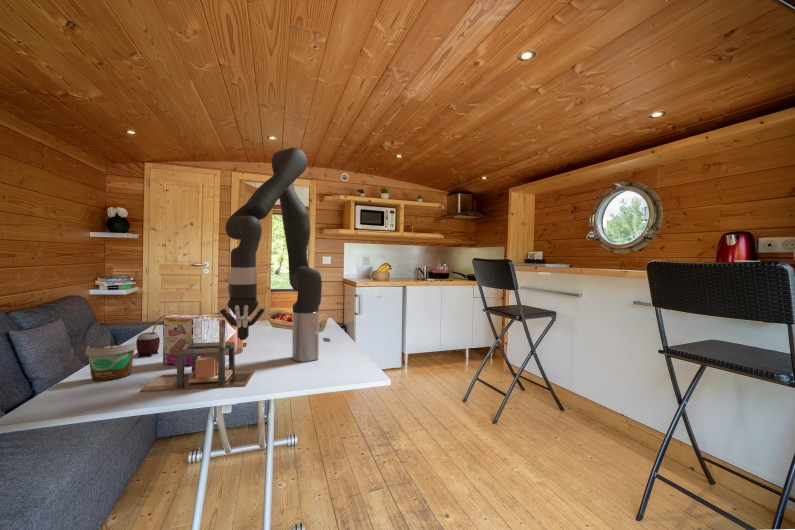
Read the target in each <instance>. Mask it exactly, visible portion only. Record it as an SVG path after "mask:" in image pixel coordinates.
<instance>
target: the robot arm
mask: <svg viewBox="0 0 795 530" xmlns="http://www.w3.org/2000/svg"><path fill="white" fill-rule="evenodd" d="M307 168H308V158H307V156H306V153H305V152H304V151H303V150H302V149H301V148H299V147H289V148H285V149H282V150H277V151H276V152H274V153H273V155H272V157H271V169H272V172H273V175H272V176H271V177H269V178H268V179H267V180H266V181H265V182H263V183H262V184H261V185H260V186H259V187H257V189H256V190H255V191H254V192H253V193H252V194H251V196H250V198H249V199H248V200H247V202H246V203H245V204H244V205H242V206H240V208H238V209H237V210H236V211H235V212H234V213H233V214H231V215H230V216H229V218H228V219H227V221H226V223H225V233H226V235H227V236H228V238H231V239H232V240H237V241H238V240H239V245H238V246H236V247H234V248H232V249H231V251H230V271H229V279H228V280H229V281H228V282H229V295H228V296H229V298H228V299H229V300H228V302H227V306H225V307H224V308H222V309H220V311H219V313H220V315H222V317H223V318H224V320H225V321H227V322H228V323H229V325H230V326H232V327H233V326H234V327H236V328H237V338H238V339H239V341H245V340H247V338H249V336H250V335H249V334H250V332H249V330H250V326H253V325H255V324H256V322H257V321H258V320H259V319H260V317H261V316H262V315H264V313H265V312H266V308H265V307H263V306H261V305H259V302H258V298H257V293H258V292H257V291H258V290H257V289H258V286H257V285H258V284H257V283H258V282H257V281H258V280H257V279H258V273H257V252H258V249H259V246H260V241H261V236H262V231H263V230H262V224H261V222H260V221H261V220H263V219H266V218H267V216H268V215H269V213H270V212H271V211H272V209H273V208H274V206H275V205H276V203H277V202H278V200H279V204H280V205H279V206H280V210H281V220H282V225H283V233H284V237H285V245H286V251H287V257H288V259H287V260H288V278H289V279H288V280H289V284H290V287H291V288H292V289H293V290H294V291H295V292H297V295H296V296H297V299H296V302H295V303H293V304H292V340H291V341H292V348H291V349H292V360H293V361H295V362H312V361H316V360H319V353H320V352H319V351H320V350H319V349H320V348H319V347H320V346H319V342H320V341H319V337H320V336H319V335H320V334H319V333H320V331H319V323H320V322H319V319H320V318H319V317H320V315H319V314H320V313H319V310H320V309H319V308H320V305H321V301H322V290H323V289H322V286H323V283H322V276H321V274H320V271H318V270H317V269H316V268H312V267H310V266H309V260H308V247H309V244H310V243H309V242H310V238H311V237H310V236H311V224H310V218H309V217H310V216H309V212H308V209H307V208H306V206H305V205H304V203H303V202H302V200H301V199H300V197H299V195H298V194H297V192H296V189H295V186H294V184H295V183H294V182H295V181H296V180H297V179H298V178H299V177H300V176H302V174H303V173H304V172H305V171H306V170H307ZM231 312H232V313H233V314H234V315H235V317H234V316H233V315H232V313H231ZM254 312H255V313H256V314H255V315H254V316H253V317H252V319H251V315H252V314H253V313H254ZM250 319H251V320H250Z"/></svg>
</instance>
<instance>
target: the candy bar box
mask: <svg viewBox="0 0 795 530" xmlns="http://www.w3.org/2000/svg"><path fill="white" fill-rule="evenodd" d="M202 325H203V316H202V315H184V314H171V315H165V316H164V317H162V364H163V365H166V366H167V365H169V366H177V353H179V352H180V351H182V350H183V349H187V347H188V346H190V345H191V344H193V343H203V341H202V340H203V335H202V334H203V333H202V332H203V331H202V330H203V326H202ZM200 357H201V356H198V358H200ZM185 366H188V367H192V357H184V367H185Z"/></svg>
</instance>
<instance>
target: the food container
mask: <svg viewBox="0 0 795 530" xmlns="http://www.w3.org/2000/svg"><path fill="white" fill-rule="evenodd" d="M85 349H86V350H85V353H84V354H85V356H88V363H89V370H90V378H91V381H93V382H97V383H101V382H102V383H103V382H104V383H105V382H113V381H117V380H121V379H124V378H127V377H129V376H131V375H132V368H133V361H134V355H135V354H134V353H135V350H137V346H136V342H135V341H134V342H131V343H129V344H126V345H125V344H124V345H113V344H112V345H111V344H110V345H107V346H102V347H101V346H100V347H93V348H92V347H90V346H89V345H87V347H86V348H85Z"/></svg>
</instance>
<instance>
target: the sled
mask: <svg viewBox="0 0 795 530" xmlns="http://www.w3.org/2000/svg"><path fill="white" fill-rule="evenodd" d="M218 323H219V325H218V329H219V330H218V333H219V334H218V335H219V336H218V342H219V348H225V342H226V319H219V321H218ZM190 373H191V374H189V375H188V383H197V382H216V381H218V374H217V375H216V376H215V377H205V378H195V370H194V371H193V372H192V371H191V372H190ZM232 373H233V370H229V369H225V381H226V380H227V379H228V378H229V377H230V376H231V374H232Z"/></svg>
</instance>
